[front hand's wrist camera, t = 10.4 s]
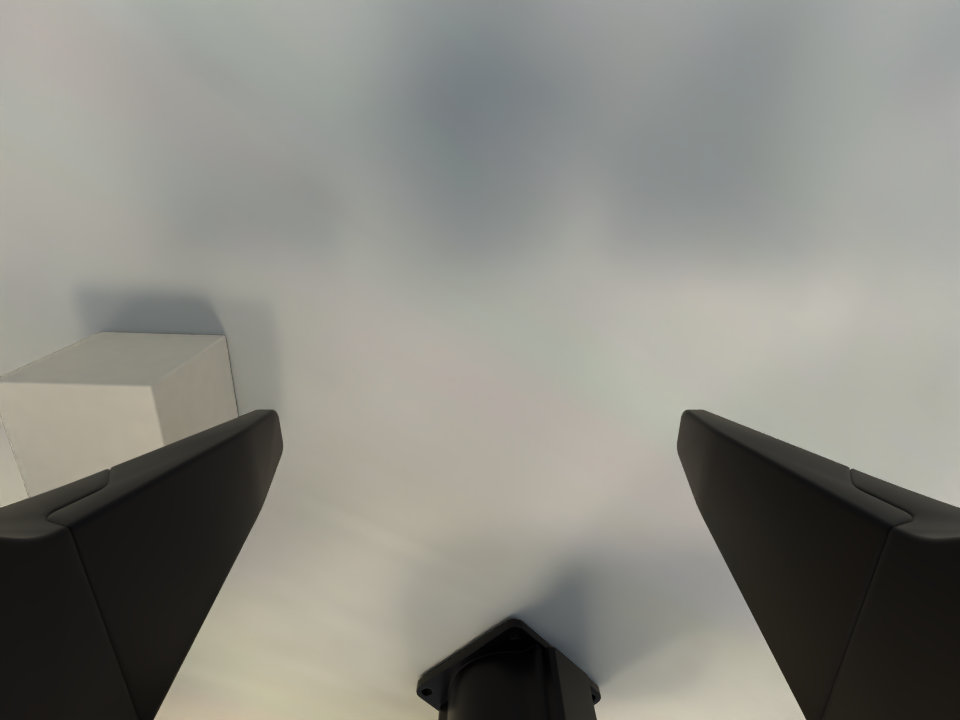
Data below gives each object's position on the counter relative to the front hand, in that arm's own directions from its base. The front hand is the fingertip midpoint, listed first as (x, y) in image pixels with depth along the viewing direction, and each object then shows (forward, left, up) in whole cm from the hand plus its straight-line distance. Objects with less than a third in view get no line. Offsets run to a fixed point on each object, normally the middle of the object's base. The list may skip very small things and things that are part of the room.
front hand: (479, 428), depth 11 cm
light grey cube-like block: (-10, +6, -7) cm, 14 cm away
